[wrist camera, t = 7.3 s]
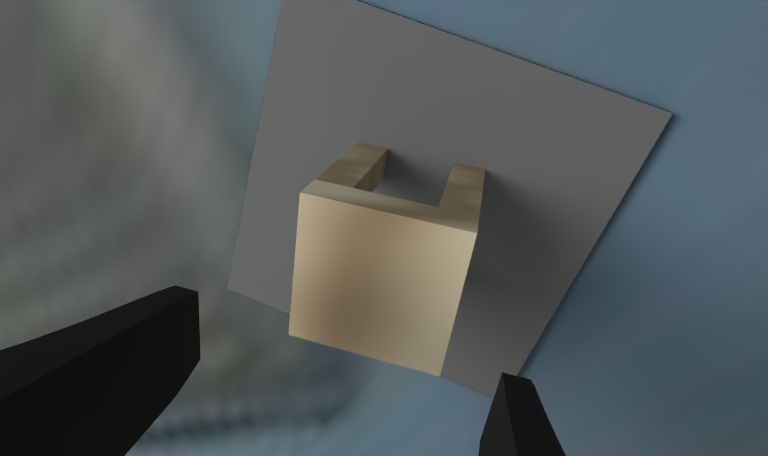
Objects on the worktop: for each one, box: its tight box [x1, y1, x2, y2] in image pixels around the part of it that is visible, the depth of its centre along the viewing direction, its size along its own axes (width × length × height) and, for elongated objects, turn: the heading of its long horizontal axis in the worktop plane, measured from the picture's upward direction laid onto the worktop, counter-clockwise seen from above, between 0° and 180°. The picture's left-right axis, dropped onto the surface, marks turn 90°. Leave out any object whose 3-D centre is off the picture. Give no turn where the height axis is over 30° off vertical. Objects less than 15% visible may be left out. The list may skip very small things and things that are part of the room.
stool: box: [289, 142, 485, 377], centre depth 17 cm, size 5×5×6 cm
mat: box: [227, 0, 673, 399], centre depth 20 cm, size 14×14×1 cm
